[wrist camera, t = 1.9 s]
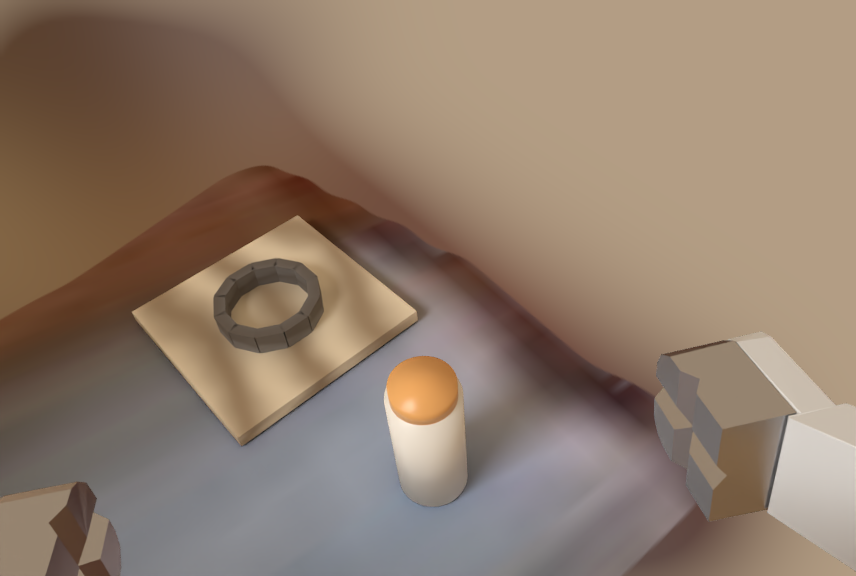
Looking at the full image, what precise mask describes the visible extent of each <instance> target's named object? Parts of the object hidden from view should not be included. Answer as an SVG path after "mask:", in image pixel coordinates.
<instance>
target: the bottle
mask: <svg viewBox="0 0 856 576" xmlns="http://www.w3.org/2000/svg"><path fill="white" fill-rule="evenodd" d="M384 404H385V409H386V414H387V419H388V424H389V430H390V435H391V440H392V445H393V450H394V455H395V460H396V465H397V471H398V476H399V481H400V485H401V488H402V490H403V492H404V493H405V494H406V496H407V497H408V498H409V499H411V500H412V501H413V502H415V503H417V504H420V505H422V506H427V507H437V506H442V505H446V504H448V503H450V502H452V501H453V500H455V499H456V498H457V497H458V496H459V495H460V494H461V493H462V491H463V490H464V488H465V486H466V483H467V478H468V471H467V453H466V436H465V418H464V401H463V389H462V386H461V383H460V381H459V380H458V378H457V376H456V374H455V372H454V370H453V369H452V368H451V366H450V365H448V364H447V363H446V362H444V361H443V360H441V359H438V358H435V357H430V356H418V357H413V358H410V359H407V360H405V361H403V362H401V363H400V364H399V365H397V366H396V367H395V368H394V369H393V371H392V372H391V373H390V375H389V377H388V380H387V387H386V389H385V393H384Z"/></svg>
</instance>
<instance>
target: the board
mask: <svg viewBox="0 0 856 576" xmlns="http://www.w3.org/2000/svg"><path fill="white" fill-rule="evenodd" d="M132 314H133V316H134V317H135V319H136V321H137V322H138V323H139V325H140V326H141V327H142V328H143V329H144V330H145V332H146V333H147V334H148V335H149V336H150V338H151V339H152V340H153V341H154V342H155V344H156V345H157V346H158V347H159V348H160V350H161V351H162V352H163V353H164V354H165V356H166V357H167V358H168V359H169V360H170V362H171V363H172V364H173V365H174V366H175V368H176V369H177V370H178V371H179V372H180V374H181V375H182V376H183V377H184V378H185V379H186V381H187V382H188V383H189V384H190V385H191V387H192V388H193V389H194V390H195V391H196V393H197V394H198V395H199V396H200V397H201V399H202V400H203V401H204V402H205V403H206V405H207V406H208V407H209V408H210V409H211V411H212V412H213V413H214V414H215V415H216V417H217V418H218V419H219V420H220V421H221V423H222V424H223V425H224V426H225V427H226V428H227V430H228V431H229V432H230V433H231V434H232V436H233V437H234V438H235V439H236V440H237V442H238V443H239V444H240V445H241V446H243V445H244V444H246V443H247V442H249V441H250V440H251V439H253V438H254V437H256V436H257V435H258V434H260V433H261V432H263V431H264V430H265V429H267V428H268V427H270V426H271V425H272V424H274V423H275V422H276V421H278V420H279V419H281V418H282V417H283V416H285V415H286V414H288V413H289V412H290V411H292V410H293V409H295V408H296V407H297V406H299V405H300V404H302V403H303V402H304V401H306V400H307V399H309V398H310V397H311V396H313V395H314V394H316V393H317V392H318V391H320V390H321V389H323V388H324V387H325V386H327V385H328V384H330V383H331V382H332V381H334V380H335V379H336V378H338V377H339V376H341V375H342V374H343V373H345V372H346V371H348V370H349V369H350V368H352V367H353V366H355V365H356V364H357V363H359V362H360V361H362V360H363V359H364V358H366V357H367V356H369V355H370V354H371V353H373V352H374V351H376V350H377V349H378V348H380V347H381V346H383V345H384V344H385V343H387V342H388V341H390V340H391V339H392V338H394V337H395V336H396V335H398V334H399V333H401V332H402V331H403V330H405V329H406V328H408V327H409V326H410V325H412V324H413V323H415V322H416V321H417V320H418V318H417V311H416V310H415V309H413V308H412V307H411V306H410V305H408V304H407V303H406V302H405V301H403V300H402V299H401V298H400V297H398V296H397V295H396V294H395V293H393V292H392V291H391V290H390V289H389V288H387V287H386V286H385V285H384V284H382V283H381V282H380V281H379V280H377V279H376V278H375V277H374V276H372V275H371V274H370V273H369V272H367V271H366V270H365V269H364V268H362V267H361V266H360V265H359V264H357V263H356V262H355V261H354V260H352V259H351V258H350V257H349V256H347V255H346V254H345V253H344V252H342V251H341V250H340V249H339V248H337V247H336V246H335V245H334V244H333V243H331V242H330V241H329V240H328V239H326V238H325V237H324V236H323V235H321V234H320V233H319V232H318V231H316V230H315V229H314V228H313V227H311V226H310V225H309V224H308V223H306V222H305V221H304V220H303V219H301V218H300V217H299V216H298V215H297V216H296V217H294V218H292V219H290V220H289V221H287V222H285V223H284V224H282V225H280V226H278V227H277V228H275V229H273V230H272V231H270V232H268V233H266V234H265V235H263V236H261V237H260V238H258V239H256V240H254V241H253V242H251V243H249V244H248V245H246V246H244V247H242V248H241V249H239V250H237V251H235V252H234V253H232V254H230V255H229V256H227V257H225V258H223V259H222V260H220V261H218V262H217V263H215V264H213V265H211V266H210V267H208V268H206V269H205V270H203V271H201V272H199V273H198V274H196V275H194V276H193V277H191V278H189V279H187V280H186V281H184V282H182V283H181V284H179V285H177V286H175V287H174V288H172V289H170V290H169V291H167V292H165V293H163V294H162V295H160V296H158V297H156V298H155V299H153V300H151V301H150V302H148V303H146V304H144V305H143V306H141V307H139V308H138V309H136V310H134V311H132Z"/></svg>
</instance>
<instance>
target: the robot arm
mask: <svg viewBox="0 0 856 576" xmlns="http://www.w3.org/2000/svg"><path fill="white" fill-rule="evenodd" d="M656 376H657V377H658V379H659V381H660V382H661V384H662V385H663V386H664V387H663V389H662V390H661V391H660V392H659V394H658V395H657V396H656V397H655V403H654V418H655V422H656V427H657V432H658V435H659V438H660V440H661V442H662V445H663V447H664V449H665V451H666V452H667V454H668V456H669V458H670V459H671V461H673V462H675V463H676V464H678V465H680V466H682V467H684V468H686V469H687V478H686V486H687V487H688V489H689V491H690V492H691V494H692V495H693V497H694V499H695V500H696V502H697V504H698V505H699V507H700V508H701V510H702V511H703V513H704V515H705V517H706V518H707V520H708V521H709V522H710V521H715V520H720V519H724V518H729V517H734V516H739V515H743V514H748V513H753V512H758V511H763V510H768V511H767V513H769V514H770V515H772V516H773V517H775V518H776V519H778V520H779V521H781V522H782V523H784V524H785V525H787V526H788V527H790V528H791V529H793V530H794V531H796V532H797V533H799V534H800V535H802V536H803V537H805V538H806V539H808V540H809V541H811V542H812V543H814V544H815V545H817V546H818V547H820V548H821V549H823V550H824V551H826V552H827V553H829V554H831V555H832V556H833V557H835V558H836V559H838V560H839V561H841V562H842V563H844V564H845V565H847V566H849V567H850V568H851V569H853V570H855V571H856V407H854V406H852V405H850V404H847V403H845V404H840V405H835V403H834V402H833V401H832V400H831V399H830V398H829V397H828V396H827V395H826V394H825V393H824V392H823V391H822V390H821V389H820V388H819V387H818V385H817V384H816V383H815V382H814V381H813V380H812V379H811V378H810V377H809V376H808V375H807V374H806V373H805V372H804V371H803V370H802V369H801V368H800V367H799V365H798V364H797V363H796V362H795V361H794V360H793V359H792V358H791V357H790V356H789V355H788V354H787V353H786V352H785V351H784V350H783V349H782V348H781V346H780V345H779V344H778V343H777V342H776V341H775V340H774V339H773V338H772V337H771V336H770V335H768V334H766V333H764V332H762V331H761V332H757V333H753V334H748V335H744V336H739V337H735V338H731V339H728V340H723V341H719V342H714V343H710V344H705V345H701V346H697V347H693V348H688V349H684V350H679V351H674V352H670V353H666V354H661V356H660V358H659V361H658V362H657V373H656ZM96 499H97V498H96V497H95V495H94V494H93V492H92V491H91V489H90V488H89V486H88V485H87V483H85V482H73V483H68V484H63V485H58V486H53V487H48V488H42V489H37V490H32V491H27V492H22V493H16V494H11V495H6V496H4V497H1V498H0V576H120V572H121V554H120V544H119V541H118V538H117V534H116V531H115V529H114V528H113V526H112V524H111V522H110V521H109V519H107V518H104V517H102V516H100V515H98V514H96V513H94V512H93V511H94V507H95V503H96Z"/></svg>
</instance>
